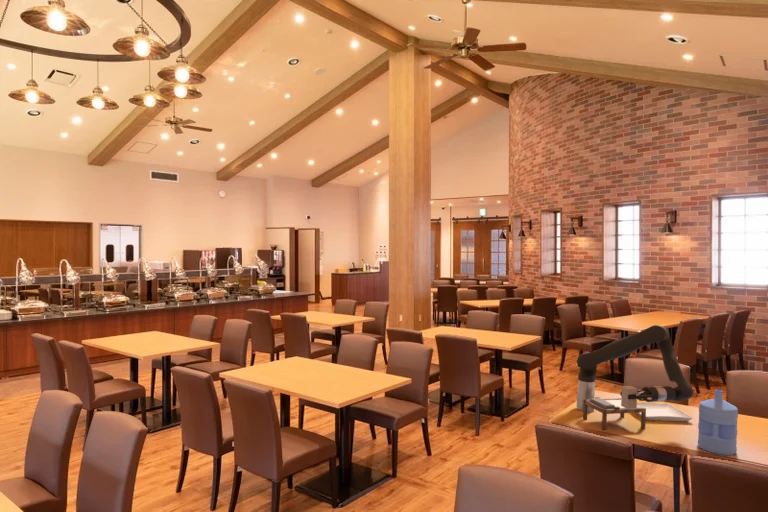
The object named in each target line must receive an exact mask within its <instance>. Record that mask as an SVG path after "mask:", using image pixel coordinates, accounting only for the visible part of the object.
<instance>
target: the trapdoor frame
mask: <svg viewBox="0 0 768 512" xmlns="http://www.w3.org/2000/svg"><path fill="white" fill-rule="evenodd" d="M595 398H600V397H599V396H595ZM602 399H603V400H621V398H602ZM588 406H589V407H591V408H593V409H594V411H598V412H599V413H602V414H601V418H602V419H601V430H602V431H607V421H608V420H607V419H608V415H614V414H617V415H618V414H619V417H620V418H622V419H625V414H635V413H636V414H637V413H641V416H640V428H641V427H642V428H641V429H646V420H647V419H646V408H636V409H627V408H624V409H620V407H618V406H617V407H615V409H604V408H602V407H600V406H598V405H596V404H594V403H592V402H591V400H584V405H583V411H582V412H583V414H582V419H583V420H584V421H585V420H588V412H587V407H588Z"/></svg>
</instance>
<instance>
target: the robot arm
mask: <svg viewBox="0 0 768 512" xmlns="http://www.w3.org/2000/svg"><path fill="white" fill-rule="evenodd" d="M654 343H655V344H656V346H657V347H658V348H659V351H660V353H661V357H662V363H663V367H664V370H665V373H666V375H667V378H668V380H669V381H670V382H672V383H676V385H677V386H674V387H672V386H669V385H668V386H667V385H663V386H657V385H654V386H643V388H642V389H637V394H632V395H628V399H636V400H637V401H638V402H646V403H659V402H664V401H665V402H667V401H671V402H673V401H675V402H680V401H681V402H682V401H685V400H687V399H690V398H693V396H694V390H693V386H692V385H691V384H690V382H689V381H688V380H687V378H686V377H685V376H684V373H683V371H682V369H681V366H680V364H679V361H678V358H677V357H676V354H675V351H674V348H673V343H672V339H671V335H670V331H669V329H667V328H666V327H664V326H662V325H659V324H654V325H650V326H649V327H648V328H646V329H644V330H642V331H640V332H637V333H635V334H632V335H628V336H625V337H622V338H620V339H619V338H618V339H617V340H615V341H612V342H609V343H608V344H606V345H604V346H602V347H601V348H598V349H596V350H593V351H591V352H590V351H587V352H583V353H581V354H580V355H579V356H578V357H577V359H576V364H577V366H578V367H579V368H580V369H579V373H578V376H577V379H578V380H577V392H576V408H577V410H578V411H582V412H583V405H584V400H591V398H595V397H596V395H595V394H596V377H597V371H598V370H597V367H598V365H600V364H603V363H606V362H609V361H613V360H617V359H620V358H623V357H626V356H629V355H631V354H632V353H634V352H636V351H637V350H638V349H640V348H643V347H644V346H648V345H650V344H654ZM619 393H620V396H622V390H621V391H619ZM594 411H595V409H593V408H591V407H589V406H588V407H587V413H588V412H589V413H593V412H594Z"/></svg>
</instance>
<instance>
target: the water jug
mask: <svg viewBox="0 0 768 512" xmlns="http://www.w3.org/2000/svg"><path fill="white" fill-rule="evenodd" d="M714 391H715V392H714V398H711V399H710V398H709V399H707V400H702V401H699V404H698V405H699V406H698V424H697V425H698V426H697V428H698V437H697V446H698V447H699V448H700V449H701V448H702V449H701V450H704V451H705V450H706V451H705V452H707V453H711V452H712V454H715V453H716V455H723V456H730V455H732V456H733V455H735V454H737V451H738V449H737V448H738V447H737V445H738V444H737V441H738V440H737V438H738V437H737V436H738V418H739V411H738V410H739V409H738V407H736V406H735V405H734V404H731V403H729V402H728V401H726V400H724V399H723V396H724V395H723V392H724V391H723V390H721V389H715V390H714Z"/></svg>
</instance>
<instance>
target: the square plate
mask: <svg viewBox="0 0 768 512" xmlns="http://www.w3.org/2000/svg"><path fill="white" fill-rule="evenodd" d="M637 407H639V408H646V420H649V421H653V420H660V421H659V422H687V421H688V422H689V421H691V420H692V419H694V416H691V415H690V414H688V413H686V412H684V411H683V410H681V409H679V408H677V407H676V406H673V405H672V404H669V403H659V402H646V401H637ZM636 414H637V415H638V416H640V417H641V413H636Z"/></svg>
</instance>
